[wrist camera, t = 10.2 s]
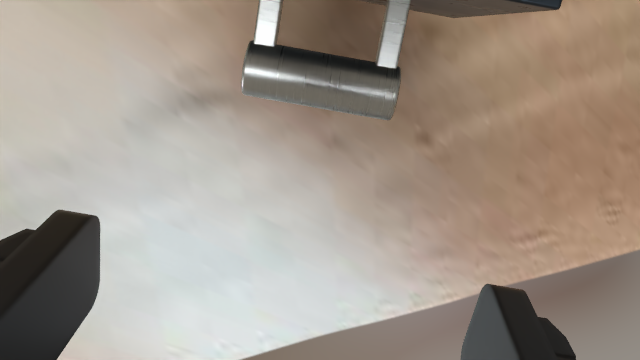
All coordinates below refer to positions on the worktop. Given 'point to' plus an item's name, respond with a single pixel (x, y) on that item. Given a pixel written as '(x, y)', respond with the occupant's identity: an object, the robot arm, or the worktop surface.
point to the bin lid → (348, 73)
